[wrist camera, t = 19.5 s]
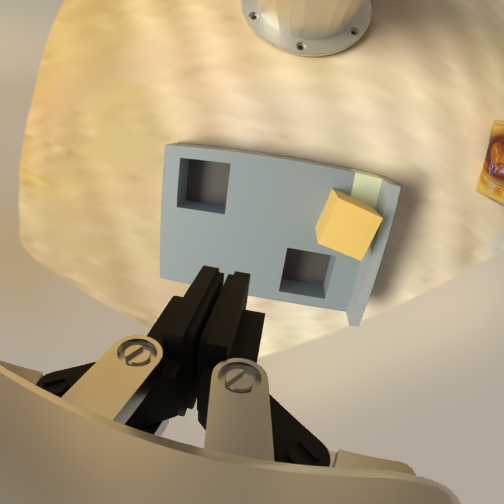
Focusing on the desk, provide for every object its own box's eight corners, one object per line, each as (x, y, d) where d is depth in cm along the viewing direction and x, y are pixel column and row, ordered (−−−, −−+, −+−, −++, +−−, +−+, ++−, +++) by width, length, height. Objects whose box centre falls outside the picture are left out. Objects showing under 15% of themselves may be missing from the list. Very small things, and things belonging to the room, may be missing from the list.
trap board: (176, 142, 30) (154, 146, 25) (383, 176, 28) (401, 186, 23) (170, 266, 35) (150, 289, 30) (350, 298, 34) (358, 326, 29)
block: (332, 188, 26) (338, 198, 23) (371, 205, 27) (382, 218, 23) (314, 227, 28) (317, 243, 24) (353, 243, 28) (361, 261, 25)
